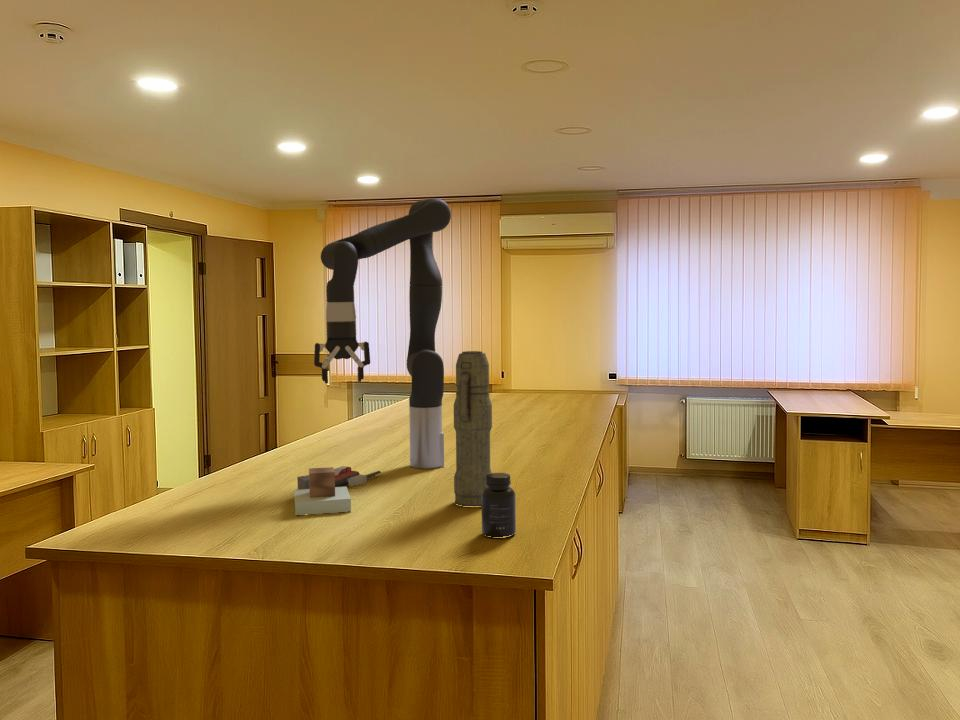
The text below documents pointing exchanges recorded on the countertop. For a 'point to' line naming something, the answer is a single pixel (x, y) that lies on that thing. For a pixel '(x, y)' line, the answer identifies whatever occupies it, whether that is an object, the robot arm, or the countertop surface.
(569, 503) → the countertop surface
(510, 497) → the supplement bottle
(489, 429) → the thermos
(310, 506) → the pedestal
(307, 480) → the charcoal block
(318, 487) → the walnut cube
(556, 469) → the countertop surface
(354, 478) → the walkie-talkie
